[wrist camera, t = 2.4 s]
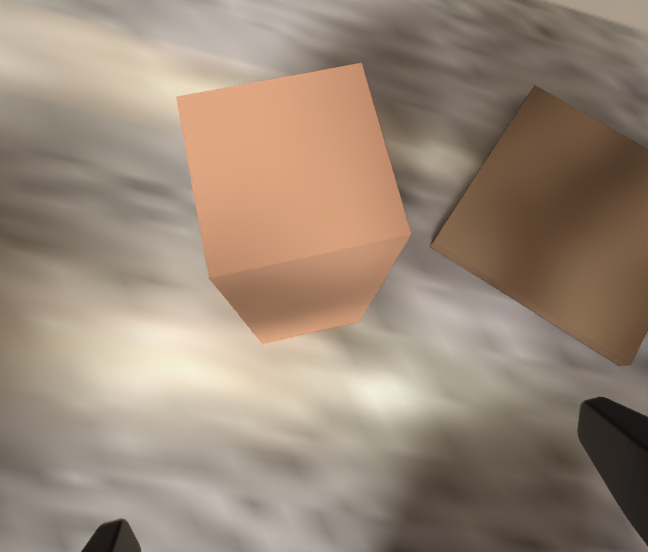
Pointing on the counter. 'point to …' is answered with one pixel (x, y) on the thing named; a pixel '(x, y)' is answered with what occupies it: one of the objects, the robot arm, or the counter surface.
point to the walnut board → (561, 225)
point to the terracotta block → (294, 198)
